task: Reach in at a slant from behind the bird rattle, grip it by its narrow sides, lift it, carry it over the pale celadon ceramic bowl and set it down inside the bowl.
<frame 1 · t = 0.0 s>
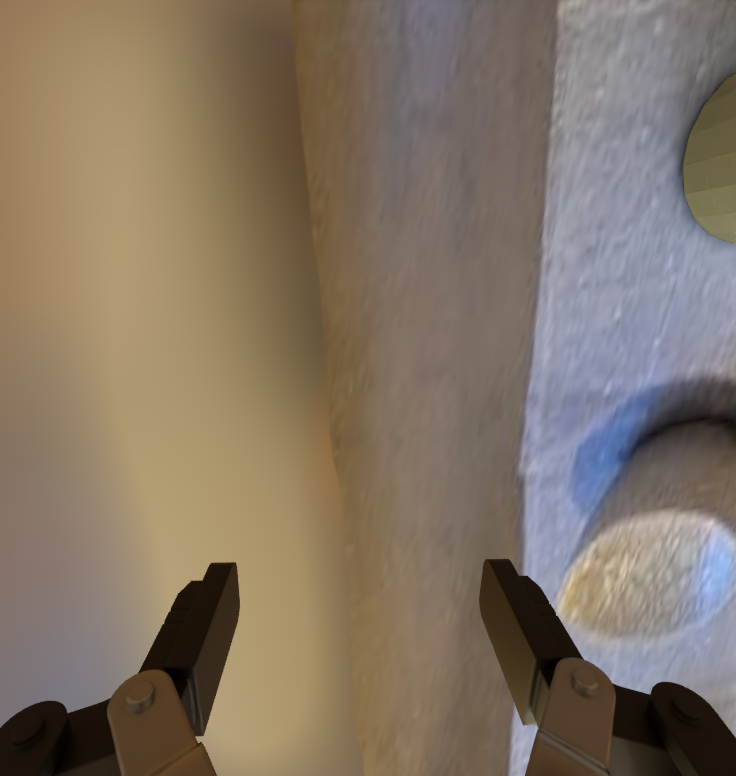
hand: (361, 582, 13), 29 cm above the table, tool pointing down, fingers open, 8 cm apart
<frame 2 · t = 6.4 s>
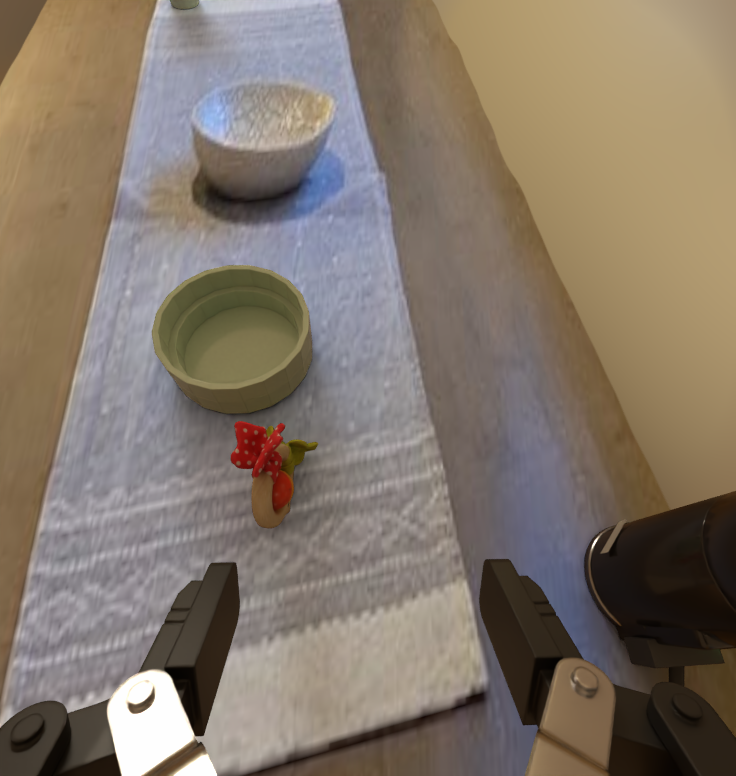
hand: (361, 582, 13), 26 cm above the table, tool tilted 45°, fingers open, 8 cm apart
bird rattle: (284, 484, 41), on the table
cup: (185, 4, 85), on the table
bowl: (244, 354, 47), on the table
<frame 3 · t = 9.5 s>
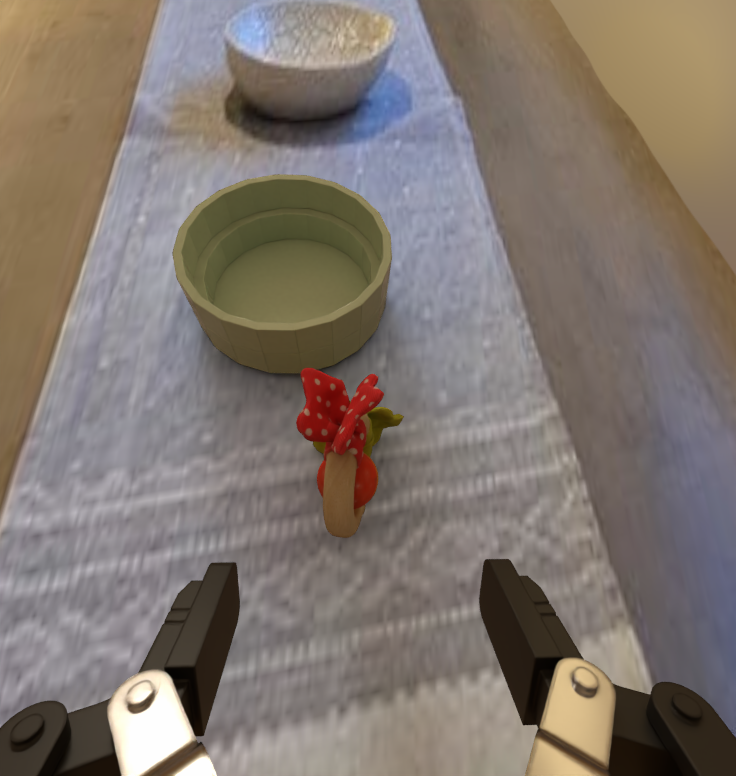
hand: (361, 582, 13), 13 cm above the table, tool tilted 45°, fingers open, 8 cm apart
bird rattle: (353, 474, 28), on the table
bowl: (293, 298, 35), on the table
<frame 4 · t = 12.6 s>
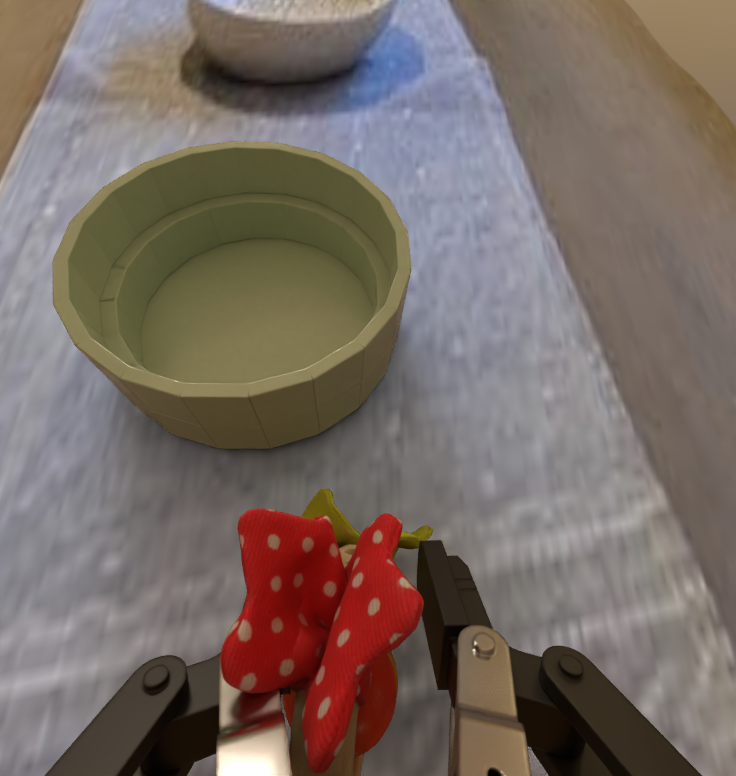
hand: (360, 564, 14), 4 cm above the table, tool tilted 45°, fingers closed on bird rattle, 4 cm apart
bird rattle: (351, 625, 17), on the table, touching gripper
bowl: (262, 326, 24), on the table
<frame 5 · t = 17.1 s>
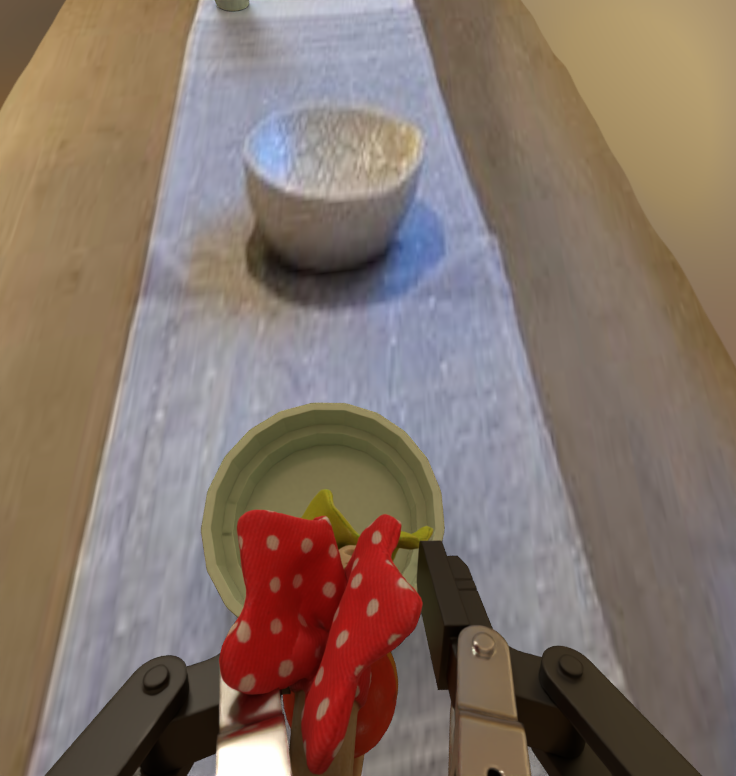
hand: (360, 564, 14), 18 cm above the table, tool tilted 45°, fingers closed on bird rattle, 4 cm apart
bird rattle: (351, 625, 17), point 13 cm above the table, touching gripper
cup: (232, 5, 71), on the table
bowl: (328, 526, 32), on the table
when the fingers open (5 cm above the table, at t = 21.9 s): bird rattle stays where it is, resting on bowl.
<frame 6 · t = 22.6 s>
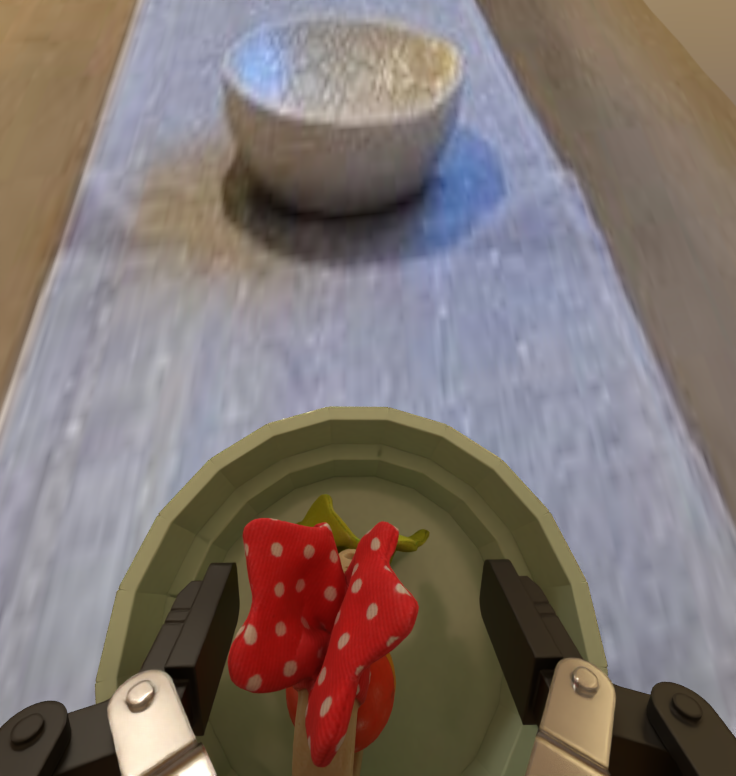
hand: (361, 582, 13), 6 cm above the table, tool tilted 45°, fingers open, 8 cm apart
bird rattle: (351, 625, 18), resting on bowl
bowl: (354, 622, 18), on the table
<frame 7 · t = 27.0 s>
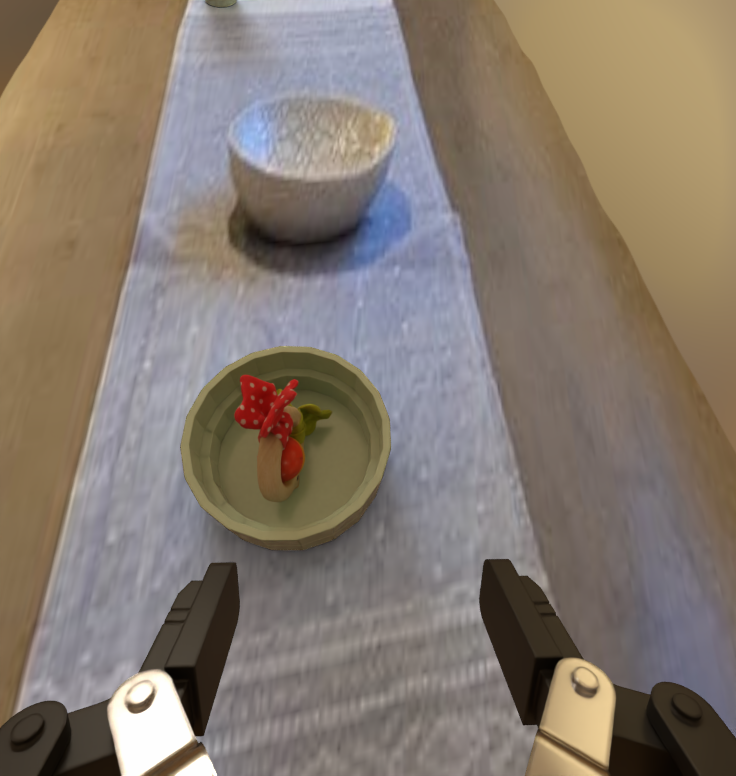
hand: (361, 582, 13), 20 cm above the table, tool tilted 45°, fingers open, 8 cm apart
bird rattle: (293, 457, 36), resting on bowl
cup: (221, 1, 75), on the table
bowl: (295, 457, 36), on the table
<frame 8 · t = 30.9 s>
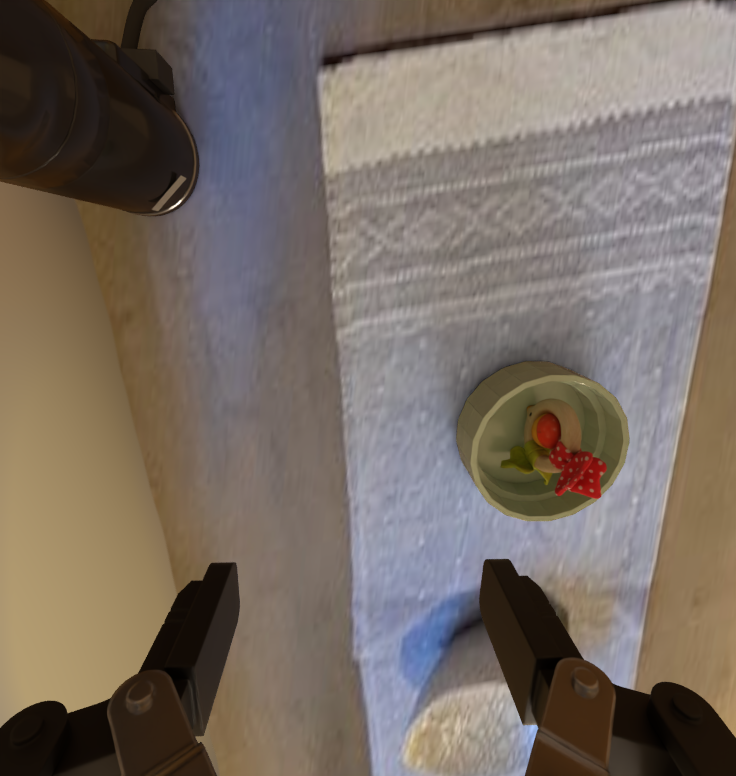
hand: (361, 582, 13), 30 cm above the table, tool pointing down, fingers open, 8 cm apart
bird rattle: (527, 428, 45), resting on bowl
bowl: (524, 428, 45), on the table
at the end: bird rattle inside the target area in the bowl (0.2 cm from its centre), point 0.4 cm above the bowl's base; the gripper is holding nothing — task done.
